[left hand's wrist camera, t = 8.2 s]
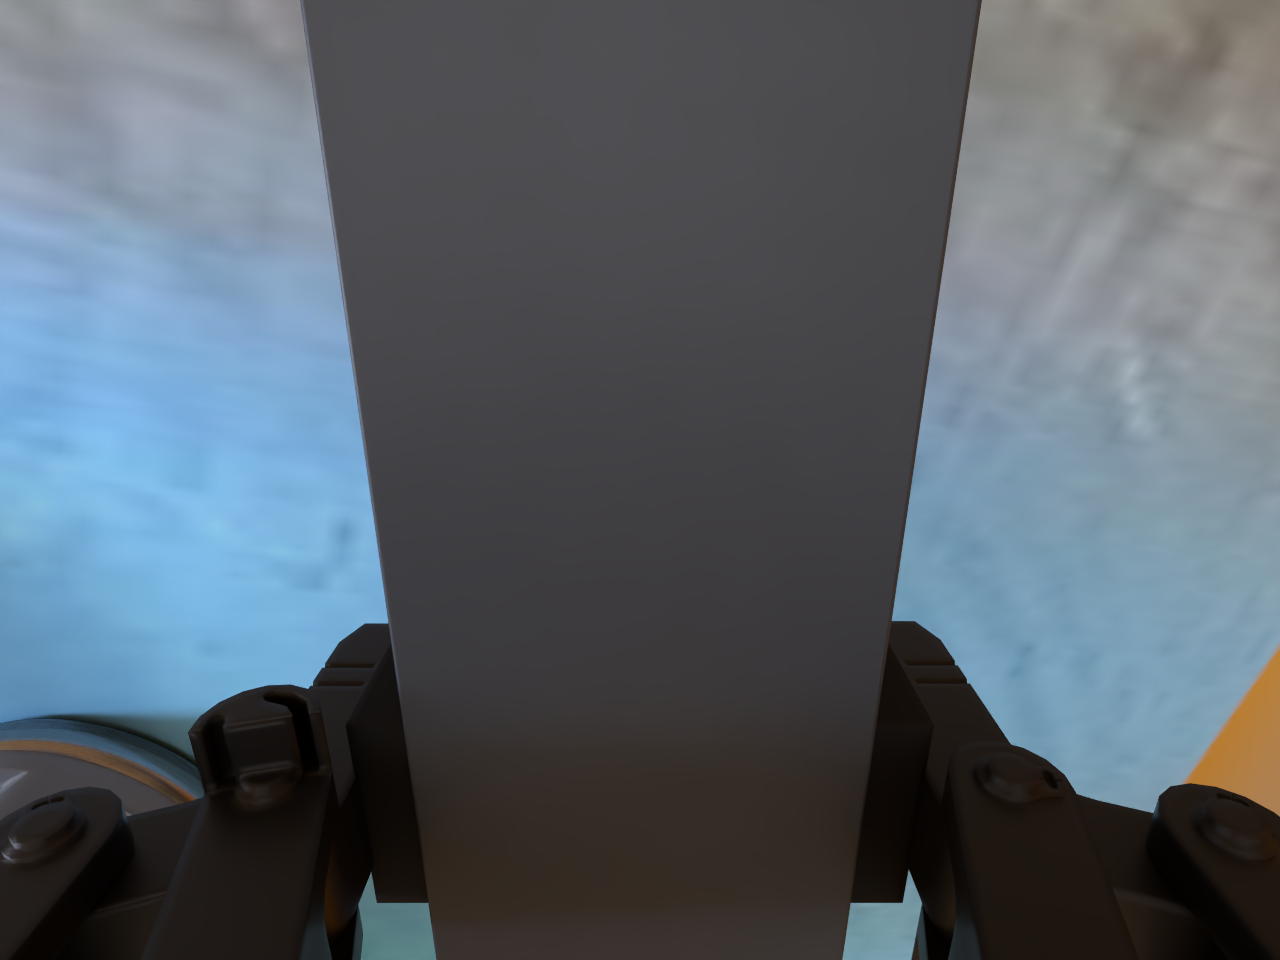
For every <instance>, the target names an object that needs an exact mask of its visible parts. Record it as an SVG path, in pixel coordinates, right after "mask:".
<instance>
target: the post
mask: <svg viewBox="0 0 1280 960" xmlns="http://www.w3.org/2000/svg"><path fill="white" fill-rule="evenodd" d="M300 2H301V9H302V16H303V23H304V30H305V37H306V44H307V51H308V58H309V65H310V72H311V79H312V86H313V93H314V100H315V107H316V114H317V121H318V128H319V135H320V143H321V150H322V157H323V164H324V171H325V178H326V185H327V192H328V199H329V206H330V213H331V220H332V227H333V234H334V241H335V248H336V255H337V262H338V269H339V276H340V283H341V290H342V297H343V305H344V312H345V319H346V326H347V333H348V340H349V347H350V354H351V361H352V368H353V375H354V382H355V389H356V396H357V403H358V410H359V417H360V424H361V431H362V438H363V445H364V452H365V460H366V467H367V474H368V481H369V488H370V495H371V502H372V509H373V516H374V523H375V530H376V537H377V544H378V551H379V558H380V565H381V572H382V579H383V586H384V593H385V600H386V607H387V614H388V622H389V629H390V636H391V643H392V650H393V657H394V664H395V671H396V678H397V685H398V692H399V699H400V706H401V713H402V720H403V727H404V734H405V741H406V748H407V755H408V762H409V769H410V776H411V784H412V791H413V798H414V805H415V812H416V819H417V826H418V833H419V840H420V847H421V854H422V861H423V868H424V875H425V882H426V889H427V896H428V903H429V910H430V917H431V924H432V931H433V938H434V946H435V953H436V960H842V958H843V951H844V944H845V937H846V930H847V923H848V916H849V910H850V903H851V896H852V889H853V882H854V875H855V868H856V861H857V855H858V848H859V841H860V834H861V827H862V820H863V813H864V806H865V800H866V793H867V786H868V779H869V772H870V765H871V758H872V751H873V745H874V738H875V731H876V724H877V717H878V710H879V703H880V696H881V689H882V683H883V676H884V669H885V662H886V655H887V648H888V641H889V634H890V628H891V621H892V614H893V607H894V600H895V593H896V586H897V579H898V573H899V566H900V559H901V552H902V545H903V538H904V531H905V524H906V518H907V511H908V504H909V497H910V490H911V483H912V476H913V469H914V463H915V456H916V449H917V442H918V435H919V428H920V421H921V414H922V408H923V401H924V394H925V387H926V380H927V373H928V366H929V359H930V353H931V346H932V339H933V332H934V325H935V318H936V311H937V304H938V298H939V291H940V284H941V277H942V270H943V263H944V256H945V249H946V243H947V236H948V229H949V222H950V215H951V208H952V201H953V194H954V188H955V181H956V174H957V167H958V160H959V153H960V146H961V139H962V133H963V126H964V119H965V112H966V105H967V98H968V91H969V84H970V78H971V71H972V64H973V57H974V50H975V43H976V36H977V29H978V23H979V16H980V9H981V2H982V0H300Z"/></svg>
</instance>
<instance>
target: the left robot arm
mask: <svg viewBox="0 0 1280 960" xmlns="http://www.w3.org/2000/svg"><path fill="white" fill-rule="evenodd" d="M188 734H189V738H190V741H191V745H192V749H193V752H194V756H195V760H196V763H197V766H195V765H194V764H192V763H191V762H189V761H187V760H186V759H184V758H183V757H181V756H179V755H177V754H175V753H174V752H172V751H170V750H168V749H166V748H164V747H162V746H160V745H158V744H155V743H153V742H151V741H149V740H146V739H144V738H141V737H138V736H136V735H133V734H130V733H127V732H124V731H121V730H117V729H114V728H111V727H106V726H102V725H97V724H93V723H87V722H80V721H74V720H62V719H27V720H16V721H10V722H4V723H0V960H361V950H362V939H363V931H362V924H361V917H360V912H359V907H358V903H359V901H360V898H361V896H362V893H363V891H364V888H365V886H366V883H367V881H368V878H369V876H370V873H371V872H372V878H373V883H374V889H375V895H376V900H377V903H428V896H427V889H426V882H425V875H424V868H423V861H422V854H421V847H420V840H419V833H418V826H417V819H416V812H415V805H414V798H413V791H412V784H411V776H410V769H409V762H408V755H407V748H406V741H405V734H404V727H403V720H402V713H401V706H400V699H399V692H398V685H397V678H396V671H395V664H394V657H393V650H392V643H391V636H390V629H389V624H364V625H362V626H361V627H360V628H358V629H357V630H356V631H354V632H353V633H351V634H350V635H349V636H347V637H346V638H345V639H343V640H342V641H340V642H339V644H338V645H337V647H336V648H335V650H334V651H333V653H332V654H331V656H330V657H329V659H328V660H327V662H326V663H325V668H322V669H321V671H320V672H319V674H318V675H317V677H316V678H315V680H314V681H313V686H310V687H309V689H306V688H302V687H298V686H294V685H268V686H264V687H260V688H256V689H251V690H247V691H243V692H241V693H239V694H237V695H234V696H232V697H230V698H228V699H226V700H223V701H221V702H219V703H218V704H216V705H215V706H214V707H212V708H211V709H210V710H208V711H207V712H206V713H204V714H203V715H201V716H200V717H199V719H198V720H197V721H196V723H195V724H194V725H193V727H192V728H191V729H190V731H189V732H188ZM908 869H909V871H910V873H911V876H912V878H913V881H914V883H915V886H916V888H917V891H918V893H919V896H920V898H921V901H922V907H921V912H920V917H919V922H918V928H917V933H916V938H915V943H914V949H913V954H912V959H911V960H1280V817H1279V816H1278V815H1277V814H1275V813H1274V812H1272V811H1270V810H1269V809H1267V808H1265V807H1263V806H1261V805H1259V804H1258V803H1256V802H1254V801H1252V800H1250V799H1248V798H1246V797H1244V796H1241V795H1238V794H1235V793H1232V792H1229V791H1227V790H1224V789H1221V788H1218V787H1213V786H1205V785H1198V784H1191V783H1190V784H1183V785H1177V786H1170V787H1169V788H1168V789H1167V790H1166V791H1165V792H1163V793H1162V794H1161V795H1160V796H1159V799H1158V802H1157V805H1156V808H1155V811H1154V813H1150V812H1145V811H1141V810H1137V809H1132V808H1128V807H1124V806H1119V805H1115V804H1111V803H1106V802H1102V801H1098V800H1094V799H1091V798H1088V797H1084V796H1081V795H1078V794H1076V792H1075V790H1074V789H1073V787H1072V786H1071V784H1070V783H1069V781H1068V779H1067V778H1066V776H1065V775H1064V774H1063V773H1062V772H1060V771H1059V770H1058V769H1057V768H1056V767H1054V766H1053V765H1052V764H1051V763H1050V762H1048V761H1047V760H1046V759H1044V758H1042V757H1040V756H1038V755H1036V754H1034V753H1032V752H1030V751H1028V750H1026V749H1024V748H1021V747H1018V746H1014V745H1011V744H1010V743H1009V741H1008V740H1007V738H1006V737H1005V735H1004V734H1003V732H1002V731H1001V729H1000V728H999V726H998V725H997V723H996V722H995V720H994V719H993V717H992V716H991V714H990V713H989V711H988V710H987V708H986V707H985V705H984V704H983V702H982V701H981V699H980V698H979V696H978V695H977V694H976V692H975V691H974V689H973V688H972V686H971V685H970V684H967V679H966V677H965V676H964V674H963V673H962V671H961V670H960V668H959V667H958V665H955V661H954V659H953V658H952V656H951V655H950V653H949V652H948V650H947V649H946V647H945V646H944V644H943V643H942V641H941V640H940V639H939V638H937V637H936V636H934V635H933V634H932V633H930V632H929V631H928V630H926V629H925V628H923V627H922V626H921V625H919V624H918V623H916V622H915V621H891V628H890V634H889V641H888V648H887V655H886V662H885V669H884V676H883V683H882V689H881V696H880V703H879V710H878V717H877V724H876V731H875V738H874V745H873V751H872V758H871V765H870V772H869V779H868V786H867V793H866V800H865V806H864V813H863V820H862V827H861V834H860V841H859V848H858V855H857V861H856V868H855V875H854V882H853V889H852V896H851V903H903V897H904V892H905V886H906V880H907V875H908Z"/></svg>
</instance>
